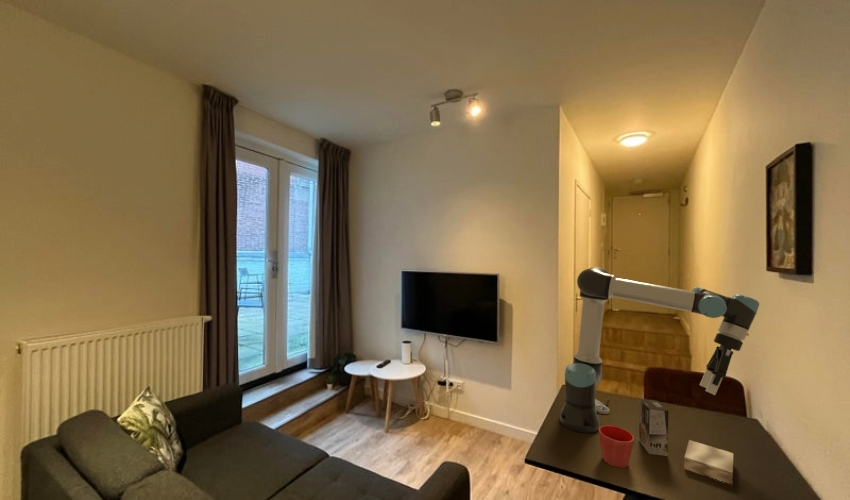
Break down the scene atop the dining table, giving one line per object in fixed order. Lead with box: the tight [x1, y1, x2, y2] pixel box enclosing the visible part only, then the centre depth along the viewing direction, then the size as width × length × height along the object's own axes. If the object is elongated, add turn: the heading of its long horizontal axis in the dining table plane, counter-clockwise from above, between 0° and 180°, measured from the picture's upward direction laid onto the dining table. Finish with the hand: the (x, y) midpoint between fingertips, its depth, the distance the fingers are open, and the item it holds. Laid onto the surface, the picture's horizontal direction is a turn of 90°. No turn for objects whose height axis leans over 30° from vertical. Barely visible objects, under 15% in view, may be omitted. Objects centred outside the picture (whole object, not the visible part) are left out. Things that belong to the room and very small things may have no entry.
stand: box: [683, 439, 734, 485], centre depth 118 cm, size 12×14×4 cm
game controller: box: [595, 398, 610, 415], centre depth 162 cm, size 15×13×2 cm
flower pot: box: [598, 425, 635, 469], centre depth 121 cm, size 11×11×10 cm
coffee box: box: [638, 398, 669, 457], centre depth 128 cm, size 9×6×16 cm
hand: (706, 390), depth 128 cm, fingers open, 13 cm apart
